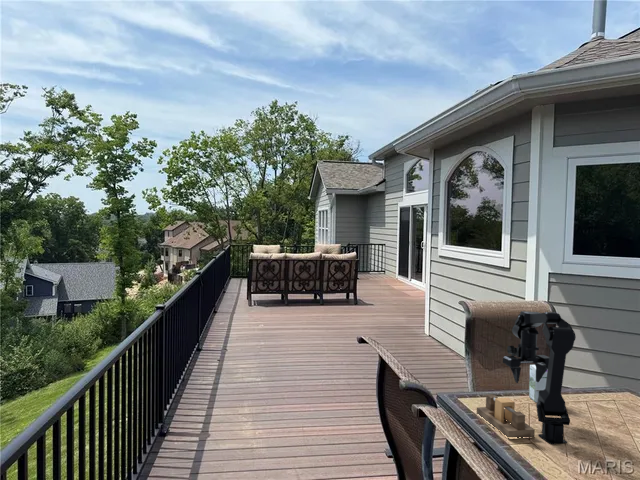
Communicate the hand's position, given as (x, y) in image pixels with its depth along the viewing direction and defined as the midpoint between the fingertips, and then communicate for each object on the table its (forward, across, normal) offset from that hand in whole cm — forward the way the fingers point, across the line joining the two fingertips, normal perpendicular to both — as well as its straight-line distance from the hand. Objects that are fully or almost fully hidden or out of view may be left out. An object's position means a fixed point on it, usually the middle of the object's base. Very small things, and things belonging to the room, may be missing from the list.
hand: (527, 382), depth 171 cm
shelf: (+12, +16, +10) cm, 23 cm away
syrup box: (+12, -14, -11) cm, 22 cm away
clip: (+10, +16, +10) cm, 22 cm away
